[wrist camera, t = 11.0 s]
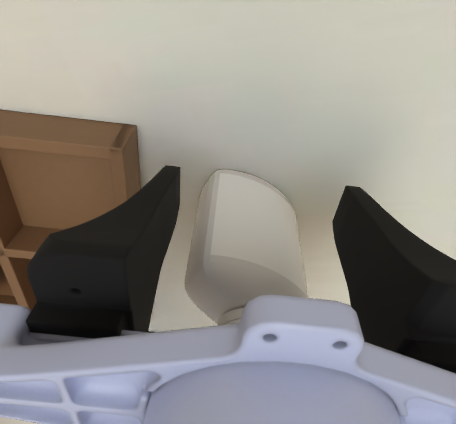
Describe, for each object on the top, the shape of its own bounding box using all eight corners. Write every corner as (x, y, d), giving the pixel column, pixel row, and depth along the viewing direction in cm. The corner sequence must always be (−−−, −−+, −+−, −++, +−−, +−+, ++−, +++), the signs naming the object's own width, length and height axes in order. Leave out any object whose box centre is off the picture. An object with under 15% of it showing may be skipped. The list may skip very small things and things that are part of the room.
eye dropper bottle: (258, 145, 19) (267, 358, 9) (301, 217, 22) (340, 434, 12) (191, 179, 20) (141, 390, 11) (239, 242, 23) (233, 451, 14)
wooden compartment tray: (148, 310, 28) (141, 339, 26) (-54, 289, 28) (-77, 317, 26) (136, 125, 18) (122, 149, 16) (-178, 89, 18) (-232, 108, 16)
